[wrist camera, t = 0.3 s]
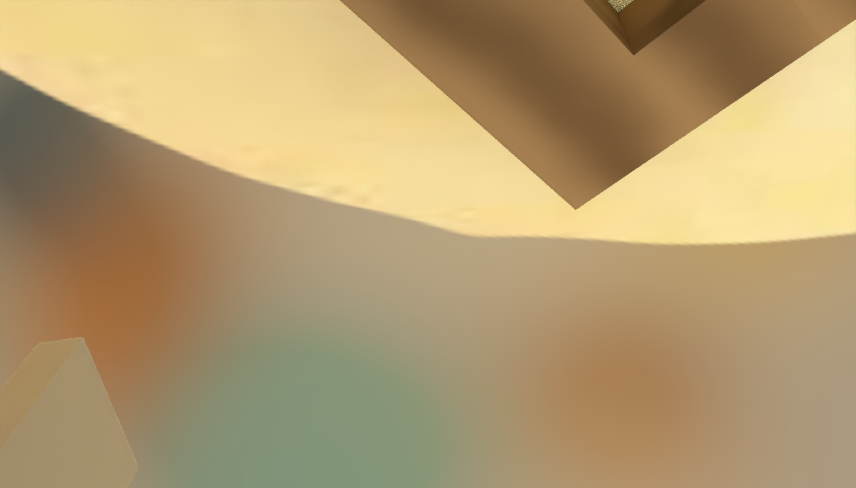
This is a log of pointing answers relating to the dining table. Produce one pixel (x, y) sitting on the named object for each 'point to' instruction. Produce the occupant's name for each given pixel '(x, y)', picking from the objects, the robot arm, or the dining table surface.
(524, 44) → the board
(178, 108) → the dining table surface
